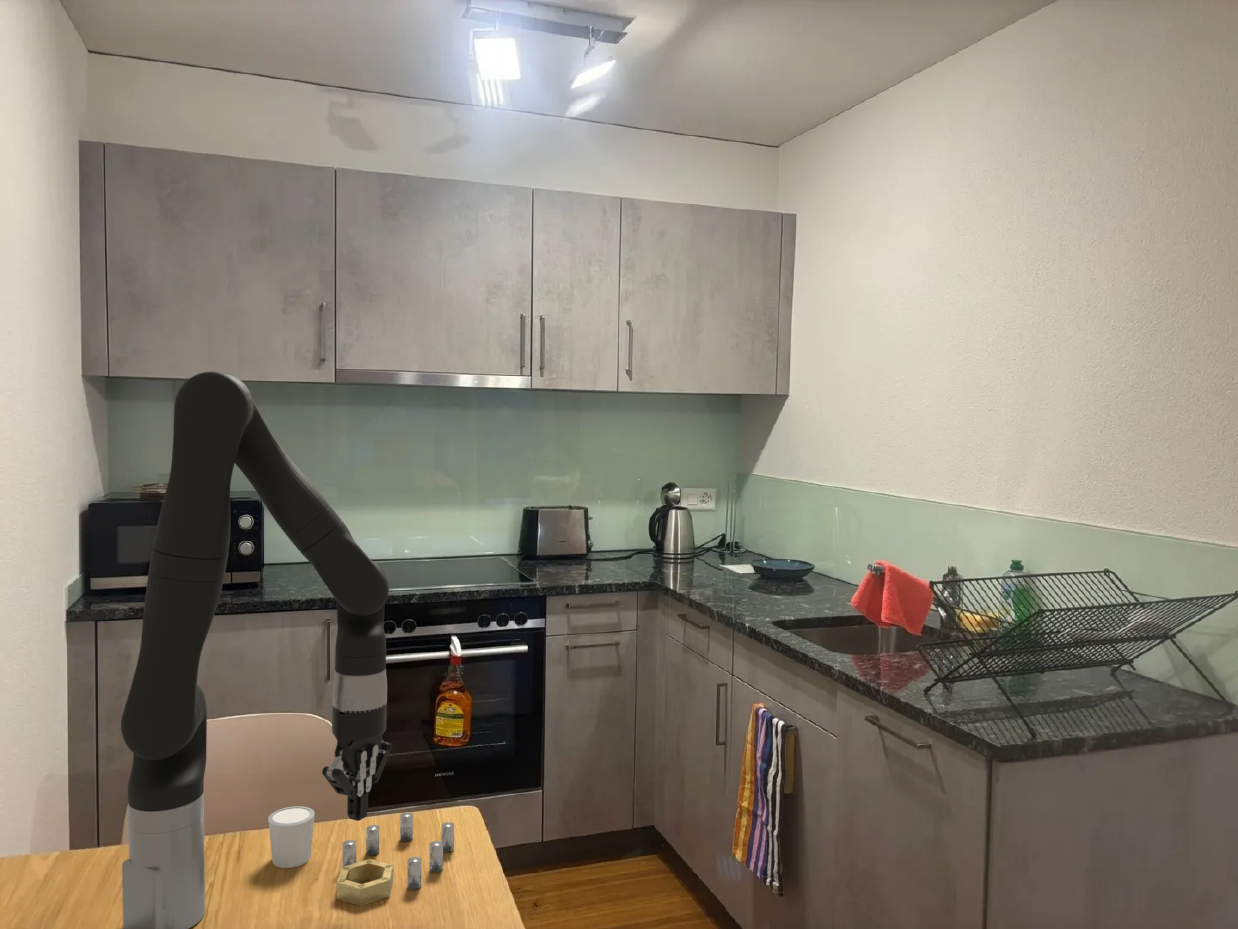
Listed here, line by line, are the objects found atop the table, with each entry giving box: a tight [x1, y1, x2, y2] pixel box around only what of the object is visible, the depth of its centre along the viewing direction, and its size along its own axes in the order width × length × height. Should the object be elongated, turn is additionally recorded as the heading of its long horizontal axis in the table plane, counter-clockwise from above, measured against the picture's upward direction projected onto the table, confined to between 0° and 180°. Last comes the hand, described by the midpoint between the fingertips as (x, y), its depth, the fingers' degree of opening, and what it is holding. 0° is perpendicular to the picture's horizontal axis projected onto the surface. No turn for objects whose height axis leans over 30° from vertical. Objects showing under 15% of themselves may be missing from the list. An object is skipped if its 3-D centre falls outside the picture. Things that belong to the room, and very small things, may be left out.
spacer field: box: [342, 811, 455, 891], centre depth 142 cm, size 14×14×4 cm
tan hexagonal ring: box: [336, 858, 394, 907], centre depth 133 cm, size 7×9×2 cm
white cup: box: [267, 805, 316, 869], centre depth 142 cm, size 7×7×7 cm
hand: (357, 818), depth 132 cm, fingers closed
